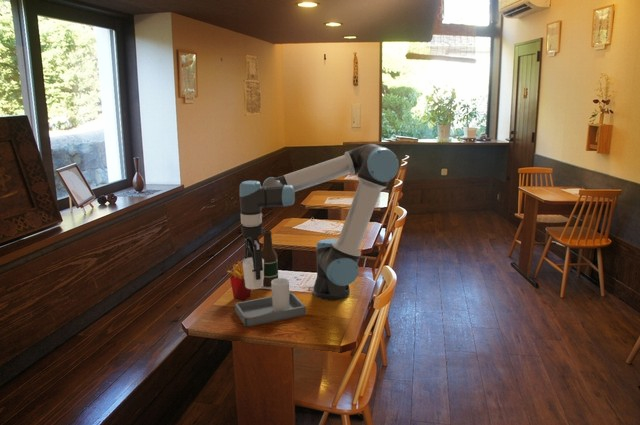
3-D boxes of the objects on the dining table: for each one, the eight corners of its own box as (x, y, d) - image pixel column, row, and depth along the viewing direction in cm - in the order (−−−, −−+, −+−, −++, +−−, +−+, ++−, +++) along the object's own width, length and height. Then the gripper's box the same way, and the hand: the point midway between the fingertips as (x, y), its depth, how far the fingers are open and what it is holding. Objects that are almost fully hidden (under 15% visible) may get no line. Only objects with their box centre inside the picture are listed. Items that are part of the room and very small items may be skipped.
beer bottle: (260, 281, 231) (257, 229, 225) (277, 279, 232) (275, 227, 226) (261, 287, 224) (258, 234, 218) (279, 286, 225) (277, 233, 219)
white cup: (244, 282, 198) (243, 257, 195) (265, 281, 199) (264, 256, 196) (242, 290, 190) (241, 264, 188) (264, 289, 191) (263, 263, 188)
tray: (292, 300, 211) (292, 292, 210) (306, 315, 198) (305, 306, 197) (235, 311, 202) (234, 303, 201) (245, 327, 189) (245, 318, 188)
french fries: (254, 296, 215) (252, 262, 211) (240, 304, 208) (238, 268, 204) (237, 292, 220) (235, 258, 216) (224, 299, 213) (221, 264, 209)
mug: (285, 315, 196) (284, 285, 193) (269, 312, 199) (268, 283, 196) (296, 304, 205) (295, 276, 202) (281, 302, 208) (279, 274, 205)
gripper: (270, 229, 181) (272, 291, 187) (253, 216, 199) (256, 272, 205) (249, 232, 178) (252, 294, 184) (234, 218, 196) (237, 275, 202)
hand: (254, 282), depth 194 cm, fingers closed on white cup, 8 cm apart
